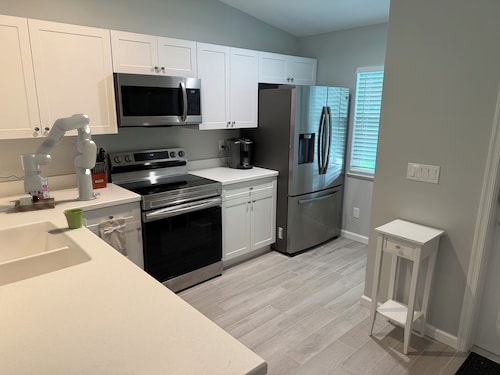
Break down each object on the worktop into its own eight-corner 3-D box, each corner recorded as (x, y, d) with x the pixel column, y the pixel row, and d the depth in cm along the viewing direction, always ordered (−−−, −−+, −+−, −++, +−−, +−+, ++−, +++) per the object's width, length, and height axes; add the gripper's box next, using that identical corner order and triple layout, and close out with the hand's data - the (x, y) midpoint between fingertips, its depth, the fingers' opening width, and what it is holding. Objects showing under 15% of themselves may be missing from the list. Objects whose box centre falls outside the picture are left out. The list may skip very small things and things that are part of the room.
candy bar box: (50, 199, 251) (47, 176, 248) (43, 200, 247) (40, 177, 244) (41, 197, 256) (38, 176, 253) (34, 199, 252) (31, 177, 249)
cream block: (32, 202, 224) (31, 196, 224) (31, 204, 220) (30, 198, 219) (21, 204, 221) (20, 198, 221) (20, 205, 217) (19, 199, 216)
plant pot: (61, 228, 175) (59, 211, 174) (80, 223, 183) (78, 207, 181) (70, 231, 170) (68, 214, 168) (88, 226, 177) (87, 210, 176)
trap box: (54, 203, 237) (54, 195, 236) (54, 208, 221) (53, 200, 220) (18, 207, 226) (17, 199, 226) (15, 212, 211) (14, 204, 210)
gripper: (45, 172, 227) (48, 199, 230) (18, 174, 219) (22, 202, 223) (45, 173, 220) (48, 201, 223) (17, 175, 213) (21, 204, 216)
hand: (35, 201), depth 223 cm, fingers closed
